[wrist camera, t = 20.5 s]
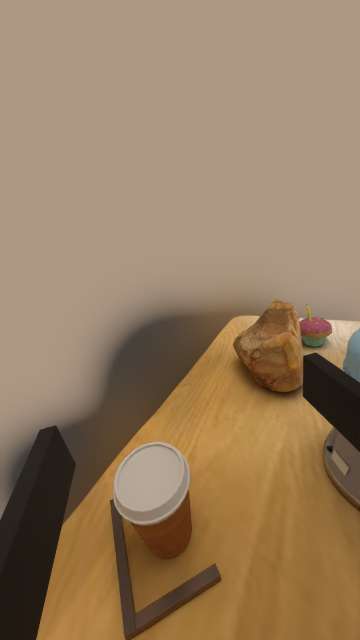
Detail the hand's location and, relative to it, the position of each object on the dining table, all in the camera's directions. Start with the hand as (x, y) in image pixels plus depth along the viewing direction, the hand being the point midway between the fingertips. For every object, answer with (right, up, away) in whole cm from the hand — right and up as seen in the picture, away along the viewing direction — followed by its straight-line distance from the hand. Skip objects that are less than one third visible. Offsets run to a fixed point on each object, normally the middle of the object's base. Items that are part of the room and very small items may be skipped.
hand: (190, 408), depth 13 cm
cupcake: (+37, -2, +57) cm, 68 cm away
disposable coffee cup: (-2, -25, +21) cm, 33 cm away
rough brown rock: (+22, -7, +51) cm, 56 cm away
